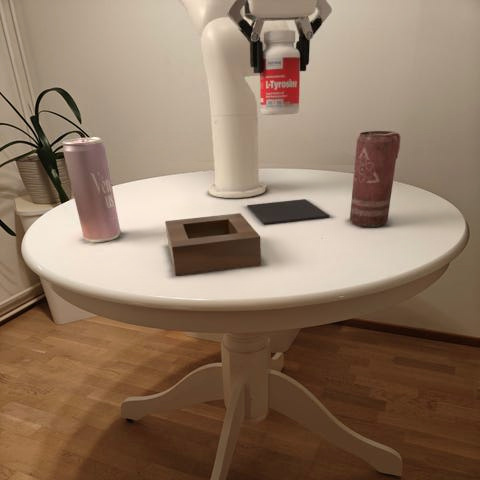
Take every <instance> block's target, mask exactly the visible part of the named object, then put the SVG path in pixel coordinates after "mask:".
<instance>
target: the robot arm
mask: <svg viewBox="0 0 480 480" xmlns="http://www.w3.org/2000/svg"><path fill="white" fill-rule="evenodd" d="M178 2H180V4H181V5H182V6H183V7H184V9H185V10H186V13H187V15H188V17H189V19H190V21H191V23H192V25H193V27H194V28H195V30H196V32H197V34H198V35H199V36H200V49H201V55H202V61H203V66H204V69H205V76H206V81H207V88H208V97H209V109H210V123H211V136H212V139H211V140H212V149H213V151H212V152H213V164H214V165H213V169H214V178H215V179H214V181H215V183H213V184H211V185H210V186H209V187H208V193H209V194H210V195H211V196H214V197H218V198H225V199H240V198H250V197H253V196H255V197H256V196H259V195H261V194H263V193H265V192H266V190H267V189H266V188H267V185H266V183H264V182H262V181H259V180H260V177H259V129H258V128H259V127H258V125H259V124H258V121H259V120H258V118H259V117H258V101H257V98H256V95H255V92H254V91H253V90H252V88H251V87H250V85H249V83H248V81H247V80H246V79H245V78H247V77H258V76H259V77H260V73H262V72H263V50H265V49H266V44H264V43H265V42H264V33H265V32H267V31H273V30H290V28H289V26H288V23H287V22H286V21H294V24H295V28H296V31H297V34H298V40H297V41H295V48H296V49H297V50H298V51H299V53H300V72H306V71H307V66H308V65H309V64H310V50H311V49H310V46H311V40H312V39H313V38H314V35H315V34H316V33H317V32H318V30H319V29H320V28H321V27H322V25H323V23H324V22H325V21H326V20H327V19H328V17H329V16H330V15H331V13H332V12H333V9H332V6H331V5H330V4H329V2H328V1H327V0H178ZM316 9H317V13H316V15H315V17H314V18H313V19H311V21H310V18H309V17H310V16H312V15H314V13H315V12H316Z"/></svg>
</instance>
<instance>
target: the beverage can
mask: <svg viewBox="0 0 480 480" xmlns="http://www.w3.org/2000/svg"><path fill="white" fill-rule="evenodd" d="M62 147H63V148H62V151H63V156H64V160H65V164H66V169H67V172H68V177H69V181H70V187H71V190H72V195H73V197H74V198H73V199H74V202H75V206H76V211H77V215H78V220H79V222H80V228H81V233H82V237H84V239H85V240H86V241H87V242H90V243H104V242H110V241H113V240H115V239H117V238H119V236H120V234H121V227H120V220H119V216H118V211H117V206H116V201H115V195H114V190H113V189H114V188H113V183H112V179H111V174H110V168H109V163H108V159H107V158H108V157H107V152H106V148H105V145H104V143H103V139H102V138H101V137H77V138H71V139H65V140H63V141H62Z"/></svg>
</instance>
